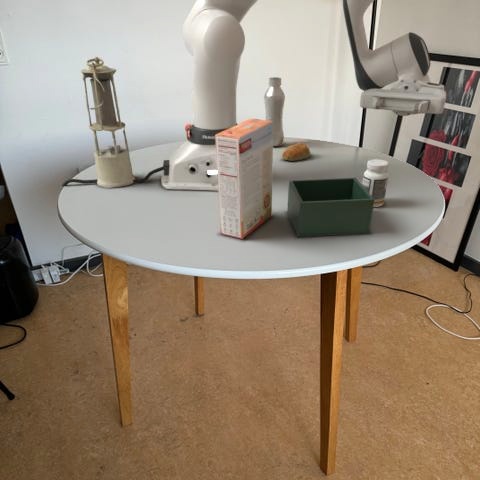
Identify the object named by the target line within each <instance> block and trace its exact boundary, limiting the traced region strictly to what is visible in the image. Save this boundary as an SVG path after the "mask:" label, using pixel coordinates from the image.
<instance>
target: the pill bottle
mask: <svg viewBox="0 0 480 480" xmlns="http://www.w3.org/2000/svg"><path fill="white" fill-rule="evenodd" d="M388 168H389V162H388V161H387V160H384V159H376V158H375V159H369V160H368V161H367V163H366V170H365V171H364V172H363V176H362V177H363V178H362V183H361V185H362V186H363V187H364V188H365V189H366V190H367V192H368V193H369V194H370V195H371V196H372V197H373V199H374V206H373V208H378V207H379V208H380V207H381V206H383V205H384V203H385V199H386V194H387V193H386V192H387V187H388V181H389V173H388V172H387V170H388Z"/></svg>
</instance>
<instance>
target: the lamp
mask: <svg viewBox="0 0 480 480" xmlns="http://www.w3.org/2000/svg"><path fill="white" fill-rule="evenodd" d="M104 63H105V61H104V60H103V59H102V58H100V57H98V56H95V57H93V58H90V59H88V60H86V62H85V64H86V65H87V68H83V69H81V70H80V72H81V74H82V81H83V84H84V93H85V103H86V111H87V116H88V122H89V124H88V128H89V130H91V131H93V136H94V137H93V138H94V146H95V151H94V152H93V158H94V162H95V169H96V176H97V179H98V181H97V183H96V184H97V186H98V187H102V188H104V189H114V188H119V187H125V186H129V185H132V184H134V183H133V180H136V177H135V175H134V172H133V167H132V162H131V157H130V151H129V149H130V148H129V145H128V139H127V135H126V130H125V127H126V123H125V122H122V120H121V115H120V108H119V103H118V96H117V90H116V85H115V82H114V81H115V79H114V75H115V74H116V72H117V69H116V68H112V67H109V66H107V65H104ZM87 78H90V79H89V81H90V86H91V93H92V99H93V104H94V105H93V106H94V107H90V106H89V105H90V104H89V98H88V97H89V96H88V90H87V82H86V80H87ZM113 97H114V98H113ZM91 110H92V111H93V110H94V115H95V122H93V123H92V118H91V117H92V116H91ZM122 129H123V131H122V133H123V138H124V144H125V148H124V147H121V145H120V144H118V145H117V140H116V135H115V133H116V131H118V130H122ZM102 131H104V132H111V135H112V139H113V145H108V146H107V147H106V148H101V149H100V147H99V142H98V134H97V132H102Z"/></svg>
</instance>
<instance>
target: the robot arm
mask: <svg viewBox="0 0 480 480" xmlns="http://www.w3.org/2000/svg"><path fill="white" fill-rule="evenodd" d="M374 1H375V0H342V10H343V16H344V22H345V27H346V32H347V37H348V42H349V46H350V51H351V55H352V60H353V66H354V77H355V81H356V84H357V86H358V88H359V89H360V90H361V91H362V92H361V95H360V97H359V107H360V108H362V109H372V110H384V111H392V113H394V114H395V115H397V116H401V117H407V116H411V115H413V116H414V115H418V114H420V115H421V114H430V115H431V114H433V115H442V114H443V113H444V109H445V105H446V100H447V91H446V90H445V85H444V84H439V83H436V82H431V80H430V79H431V78H430V76H429V75H428V73H429V70H430V67H431V58H430V52H429V49H428V46H427V44H426V42H425V40H424V39H423V38H422V37H421V36H420V35H419V34H418V33H417V34H416V33H415V32H408V33H405V34H403V35H401V36H399V37H397V38H395V39H392V41H390V42H388V43H385V44H383V45H382V46H379V47H377V48H375V49H370V47H369V44H368V38H367V34H366V33H367V32H366V29H365V21H364V15H365V13H366V11H367V10H368V8H369V7H370V6H371V5H372V3H374ZM257 2H258V0H196V1H195V3H194V5H193V6H192V8H191V10H190V12H189V13H188V15H187V17H186V19H185V20H184V23H183V25H182V40H183V43H184V46H185V48H186V50H187V51H188V53H189V54H190V55H191V56H192V57H194V58H193V59H194V60H193V61H194V71H193V81H192V82H193V83H192V89H191V101H192V116H193V118H192V119H193V124H191V123H190V122H189V123H186V124H185V126H184V131H185V132H186V141H185V142H184V143H182V145H180V146H179V147H178V148H177V149H176V150H175V151H174V152H173V153H172V154H171V156H170V157H169V159H163V161H162V163H163V164H162V166H159V167H158V168H154V169H153V170H151V171H149V172H148V173H147V174H146V176H144V177H143V178H139V179H135V180H133V183H132V184H141V183H145V182H146V181H148V180H149V179H150V178H151V177H152V176H153V175H154V174H156V173H159V172H162V171H163V172H162V175H161V181H160V183H161V186H162V187H163V188H164V189H166V190H181V191H182V190H187V191H218V178H217V161H216V144H215V135H216V134H218V133H220V132H222V131H225V130H227V129H229V128H231V127H234V126H236V125H238V124H239V123H238V122H237V87H238V79H239V73H240V66H241V57H242V55H243V52H244V50H245V45H246V35H245V32H244V29H243V27H242V25H241V24H240V23H242V21H243V19H244V18H245V16H246V15H247V14H248V12H249V11H250V10H251V9H252V7H253V6H254V5H256V4H257ZM393 83H394V84H393ZM391 84H393V85H392V87H391V88H390V89H388V88H385V87H386V86H389V85H391ZM97 181H98V178H97V179H79V178H68V179H67V180H65V181H63V182H62V184H61V187H66V186H67V185H68V184H70V183H78V184H97Z"/></svg>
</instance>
